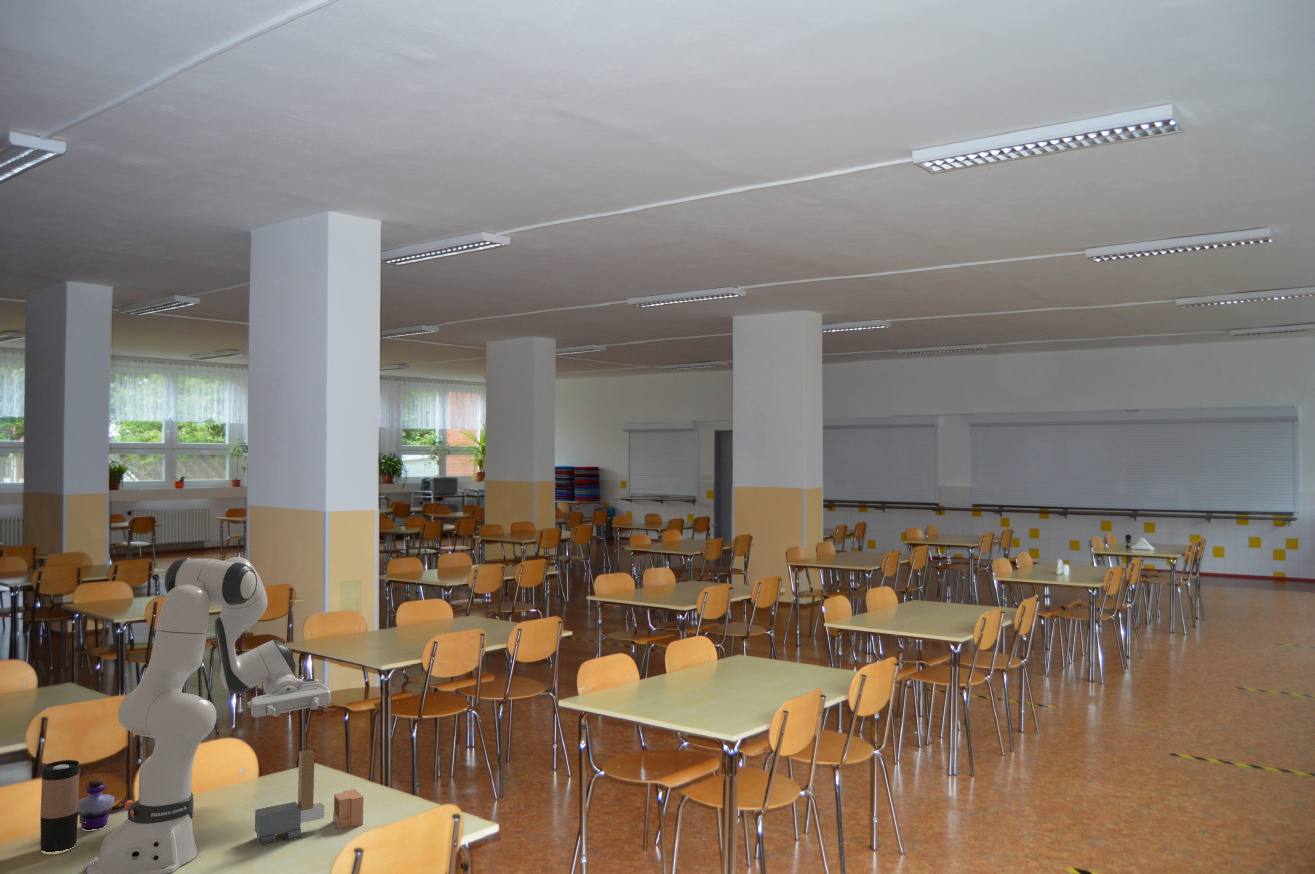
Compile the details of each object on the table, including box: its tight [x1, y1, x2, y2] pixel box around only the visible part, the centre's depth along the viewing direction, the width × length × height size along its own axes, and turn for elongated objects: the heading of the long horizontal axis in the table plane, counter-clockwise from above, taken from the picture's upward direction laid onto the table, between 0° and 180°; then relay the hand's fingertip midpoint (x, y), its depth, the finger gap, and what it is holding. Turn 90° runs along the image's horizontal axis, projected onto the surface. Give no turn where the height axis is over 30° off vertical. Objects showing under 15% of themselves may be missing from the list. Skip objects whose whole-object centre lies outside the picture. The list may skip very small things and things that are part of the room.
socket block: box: [332, 788, 364, 830], centre depth 238 cm, size 6×7×7 cm
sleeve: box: [254, 801, 302, 847], centre depth 228 cm, size 10×6×7 cm, turn 125°
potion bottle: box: [78, 778, 116, 830], centre depth 233 cm, size 9×9×12 cm
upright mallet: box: [297, 749, 325, 824], centre depth 231 cm, size 14×3×17 cm, turn 125°
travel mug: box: [39, 759, 80, 852], centre depth 221 cm, size 8×8×20 cm
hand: (296, 709), depth 243 cm, fingers open, 8 cm apart
